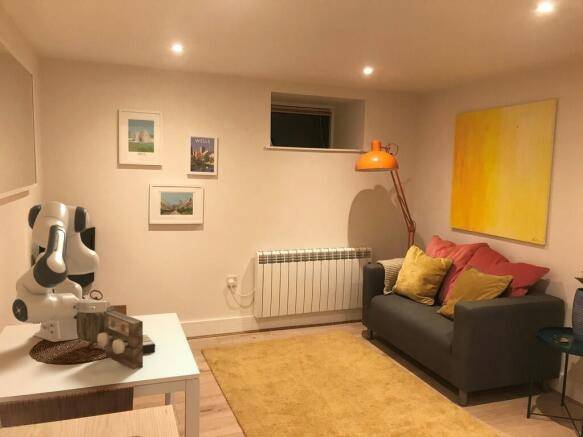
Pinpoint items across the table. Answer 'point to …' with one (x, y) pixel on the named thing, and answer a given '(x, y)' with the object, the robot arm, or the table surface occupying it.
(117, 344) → the button
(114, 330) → the button panel
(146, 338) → the calculator
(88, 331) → the tabletop clock
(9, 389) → the table surface
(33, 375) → the table surface
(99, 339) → the button
